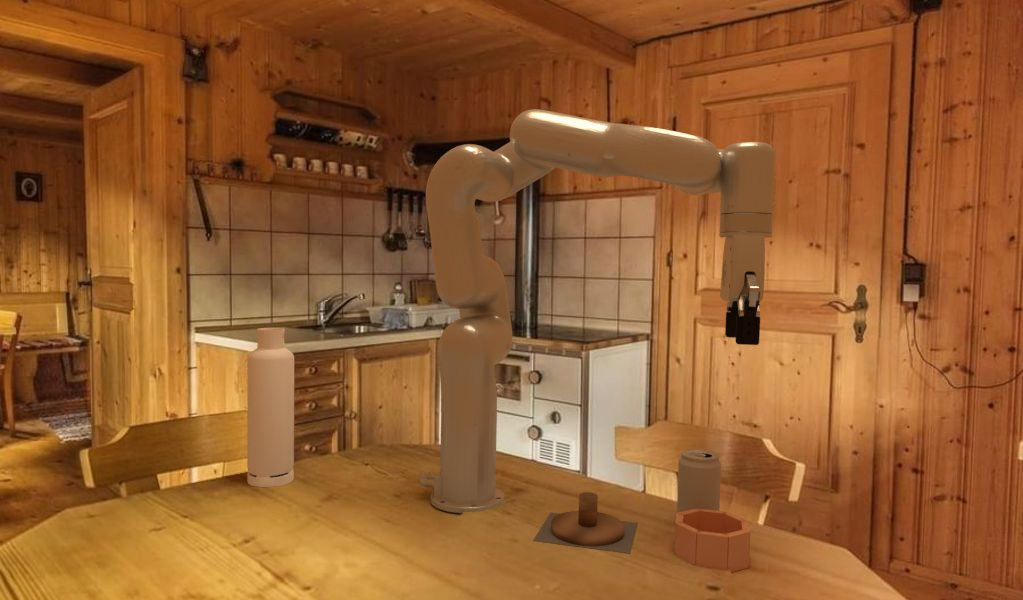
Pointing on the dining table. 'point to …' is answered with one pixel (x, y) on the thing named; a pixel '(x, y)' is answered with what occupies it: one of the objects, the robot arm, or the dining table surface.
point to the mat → (620, 546)
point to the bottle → (270, 410)
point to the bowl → (712, 539)
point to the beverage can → (698, 480)
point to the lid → (587, 524)
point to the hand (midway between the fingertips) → (741, 340)
